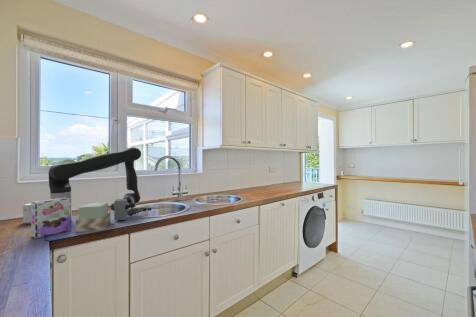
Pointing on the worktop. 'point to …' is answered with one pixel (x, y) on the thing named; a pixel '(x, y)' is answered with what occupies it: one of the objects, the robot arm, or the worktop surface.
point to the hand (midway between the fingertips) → (119, 208)
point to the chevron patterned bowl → (92, 223)
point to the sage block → (93, 210)
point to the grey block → (120, 209)
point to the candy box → (50, 217)
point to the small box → (27, 213)
